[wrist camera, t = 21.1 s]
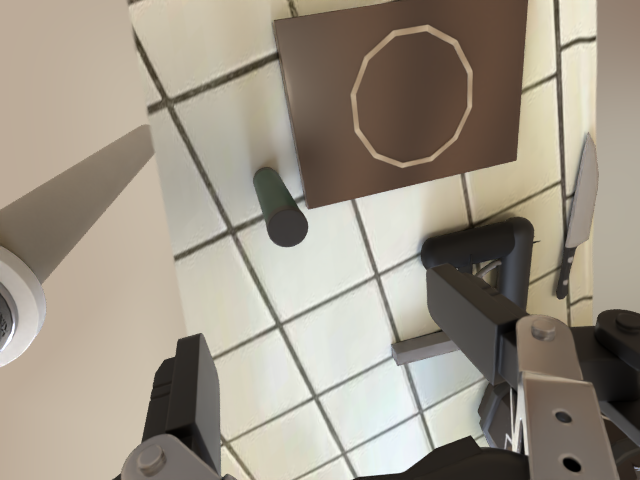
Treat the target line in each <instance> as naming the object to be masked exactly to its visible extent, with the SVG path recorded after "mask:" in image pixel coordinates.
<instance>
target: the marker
mask: <svg viewBox="0 0 640 480" xmlns="http://www.w3.org/2000/svg"><path fill="white" fill-rule="evenodd" d="M253 184H254V187H255V190H256V193H257V196H258V200H259V203H260V206H261V209H262V212H263V216H264V219H265V222H266V227H267V231H268V235H269V237H270V239H271V240H272V241H273V242H274V243H275V244H277V245H279V246H281V247H292V246H295V245H297V244H299V243H300V242H301V241H302V240H303V239H304V238H305V236H306V235H307V232H308V222H307V219H306V218H305V216H304V214H303V213H302V212H301V211H300V209H299V208H298V206H297V204H296V203H295V201H294V199H293V198H292V196H291V194H290V193H289V191H288V189H287V188H286V186H285V184H284V183H283V181H282V179H281V178H280V176H279V174H278V173H277V172H276V171H275V170H274V169H272V168H262V169H260V170H258V171H257V172H256V173H255V175H254V178H253Z"/></svg>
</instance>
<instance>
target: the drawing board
mask: <svg viewBox="0 0 640 480" xmlns="http://www.w3.org/2000/svg"><path fill="white" fill-rule="evenodd" d="M527 7H528V0H403V1H396V2H390V3H383V4H377V5H370V6H364V7H357V8H351V9H344V10H338V11H331V12H325V13H318V14H312V15H305V16H299V17H292V18H286V19H279V20H274V21H273V22H272V24H273V29H274V35H275V40H276V46H277V51H278V57H279V62H280V67H281V73H282V78H283V84H284V89H285V95H286V100H287V105H288V111H289V116H290V122H291V127H292V133H293V138H294V144H295V149H296V154H297V160H298V165H299V171H300V176H301V182H302V187H303V192H304V198H305V203H306V207H307V208H308V209H313V208H317V207H321V206H326V205H330V204H334V203H338V202H343V201H347V200H351V199H355V198H360V197H364V196H368V195H372V194H377V193H381V192H385V191H389V190H394V189H398V188H402V187H406V186H410V185H415V184H419V183H423V182H427V181H432V180H436V179H440V178H444V177H449V176H453V175H457V174H461V173H466V172H470V171H474V170H478V169H483V168H487V167H491V166H495V165H500V164H504V163H508V162H512V161H516V160H517V147H518V133H519V119H520V105H521V91H522V77H523V63H524V49H525V35H526V21H527Z"/></svg>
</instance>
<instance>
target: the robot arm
mask: <svg viewBox="0 0 640 480" xmlns="http://www.w3.org/2000/svg"><path fill="white" fill-rule="evenodd" d="M426 282H427V305H428V310H429V313H430V315H431V317H432V319H433V320H434V321H435V322H436V324H437V325H438V326H439V327H440V328H441V329H442V330H443V331H444V332H445V333H446V335H447V336H448V337H449V338H450V339H451V340H452V341H453V342H454V343H455V344H456V346H457V347H458V348H459V349H460V350H461V351H462V352H463V353H464V354H465V355H466V357H467V358H468V359H469V360H470V361H471V362H472V363H473V364H474V365H475V367H476V368H477V369H478V370H479V371H480V372H481V373H482V374H483V375H484V376H485V378H486V379H487V380H488V381H489V382H490V383H491V384H492V385H493V386H494V385H497V384H499V383H502V382H505V381H507V382H508V383H509V384H510V385H511V390H510V402H511V426H512V451H510V450H506V449H501V448H494V447H479V446H478V445H477V443H476V442H475V440H474V439H473V438H472V436H471V435H470V436H468V437H465V438H462V439H460V440H457V441H454V442H452V443H449V444H446V445H444V446H441V447H438V448H436V449H434V450H433V451H432V452H430V453H429V454H428V455H426V456H425V457H424V458H422V459H421V460H420V461H418V462H417V463H416V464H414V465H413V466H412V467H410V468H409V469H408V470H406V471H405V472H402V473H397V474H386V475H375V476H365V477H358V478H355V479H353V480H620V478H619V475H618V471H617V467H616V464H615V460H614V457H613V453H612V449H611V446H610V442H609V439H608V435H607V431H606V428H605V424H604V421H603V417H602V413H603V414H604V415H605V416H607V417H608V418H609V419H610V420H611V421H612V422H613V423H614V424H615V425H616V426H617V427H618V428H619V429H620V430H622V431H623V432H624V433H625V434H626V435H627V436H628V437H629V438H630V439H631V440H632V441H633V442H634V443H636V444H637V445H638V446H639V447H640V314H639V313H636V312H632V311H628V310H620V309H614V310H606V311H603V312H602V313H600V314H599V315H598V317H597V322H596V326H584V327H568V326H567V325H566V324H564V323H563V322H561V321H560V320H558V319H555V318H553V317H549V316H545V315H529V314H528V313H527V312H525V311H524V310H523V309H521V308H520V307H519V306H517V305H516V304H515V303H513V302H512V301H511V300H509V299H508V298H507V297H505V296H504V295H503V294H500V293H499V291H497V290H496V289H495V288H493V287H491V286H490V285H489V284H488V283H487V282H485V281H484V280H483V279H481V278H480V277H477V276H474V275H472V274H469V273H466V272H465V273H461V272H460V271H458V270H457V269H456V268H455V267H453V266H452V265H451V264H449V263H446V264H443V265H439V266H436V267H432V268H429V269H428V270H427V272H426ZM18 320H19V316H18V309H17V306H16V303H15V301H14V299H13V297H12V295H11V294H10V292H9V291H8V290H7V288H6V287H5V286H4V285H3V284H2V283H1V282H0V352H1V351H2V350H3V349H4V348H5V347H6V346H7V345H8V343H9V342H10V341H11V340H12V338H13V336H14V335H15V332H16V330H17V327H18ZM150 398H151V401H150V402H149V407H148V412H147V417H146V422H145V427H144V432H143V438H142V442H141V444H140V445H139V446H137V447H136V448H135V449H134V450H133V451H132V453H131V454H130V455H129V456H128V458H127V459H126V461H125V463H124V465H123V467H122V471H121V474H119V475H118V476H117V477H116V478H114V479H113V480H237V479H236V478H234V477H233V476H231V475H229V474H226V475H225V476H224V477H221V448H220V388H219V379H218V374H217V370H216V367H215V364H214V362H213V359H212V356H211V354H210V351H209V348H208V345H207V343H206V340H205V337H204V335H203V334H202V333H199V334H195V335H192V336H188V337H185V338H182V339H179V340H178V342H177V348H176V355H175V357H173V358H169V359H166V360H164V361H163V363H162V364H161V366H160V367H159V369H158V370H157V372H156V373H155V377H154V382H153V389H152V392H151V397H150ZM601 412H602V413H601Z"/></svg>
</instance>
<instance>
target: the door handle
mask: <svg viewBox="0 0 640 480" xmlns="http://www.w3.org/2000/svg"><path fill="white" fill-rule="evenodd" d="M534 237H535V236H534V228H533V225H532V224H531V222H530V221H528V220H527V219H525V218H523V217H512V218H509V219H507V220H506V221H504V222H500V223H495V224H491V225H486V226H482V227H477V228H473V229H469V230H464V231H460V232H455V233H451V234H446V235H442V236H437V237H433V238H430V239H428V240H427V241H426V242H425V243H424V244H423V247H422V250H421V260H422V263H423V266H424V267H425V269H426V270H428V269H429V268H432V267H436V266H439V265H443V264H446V263H449V264H451V265H452V266H453V267H455V268H458V271H460V272H461V273H465V272H466V273H469V274H472V269H473V264H476V263H480V262H485V261H489V260H493V259H497V258H498V259H497V260H495V261H493V262H491V263H489V264H488V265H486V266H485V267H483V268H482V269H481V270H480V271H478V272H477V273H476V274H475V275H474V276H477V277H480V278H482V277H483V276H484V275H485V274H486V273H488V272H489V271H490V270H492V269H493V268H495V267H496V266H498V275H497V291H499V293H500V294H503V295H504V296H505V297H507V298H508V299H509V300H511V301H512V302H513V303H515V304H516V305H517V306H519V307H520V308H521V309H523V310H524V311H525V312H526V306H527V296H528V286H529V277H530V267H531V257H532V248H533V243H536V242H539V241H535V242H533V238H534ZM391 347H392V356H393V358H394V360H395V362H396V364H397V366H399V365H403V364H407V363H411V362H415V361H418V360H422V359H426V358H430V357H434V356H438V355H442V354H445V353H449V352H453V351H457V350H460V349H459V348H458V347H457V346H456V344H455V343H454V342H453V341H452V340H451V339H450V338H449V337H448V336H447V335H446V333H445V332H444V331H442V332H438V333H434V334H430V335H426V336H422V337H418V338H414V339H410V340H406V341H402V342H398V343H395V344H391Z"/></svg>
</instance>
